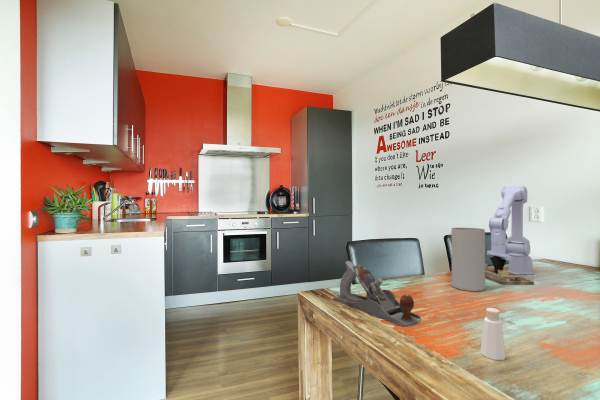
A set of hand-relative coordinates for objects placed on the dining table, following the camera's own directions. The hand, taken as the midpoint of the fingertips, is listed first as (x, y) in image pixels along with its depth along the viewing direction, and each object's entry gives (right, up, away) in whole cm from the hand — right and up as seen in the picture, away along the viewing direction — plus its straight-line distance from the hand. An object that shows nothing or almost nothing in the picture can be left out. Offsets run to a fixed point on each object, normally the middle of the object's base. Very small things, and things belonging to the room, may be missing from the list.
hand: (498, 273), depth 145 cm
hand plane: (-66, -5, -36) cm, 75 cm away
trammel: (+3, -2, +5) cm, 6 cm away
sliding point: (+4, -2, -2) cm, 5 cm away
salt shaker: (-44, -4, -68) cm, 82 cm away
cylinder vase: (-19, -4, -10) cm, 22 cm away
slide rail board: (+4, -4, +5) cm, 8 cm away
